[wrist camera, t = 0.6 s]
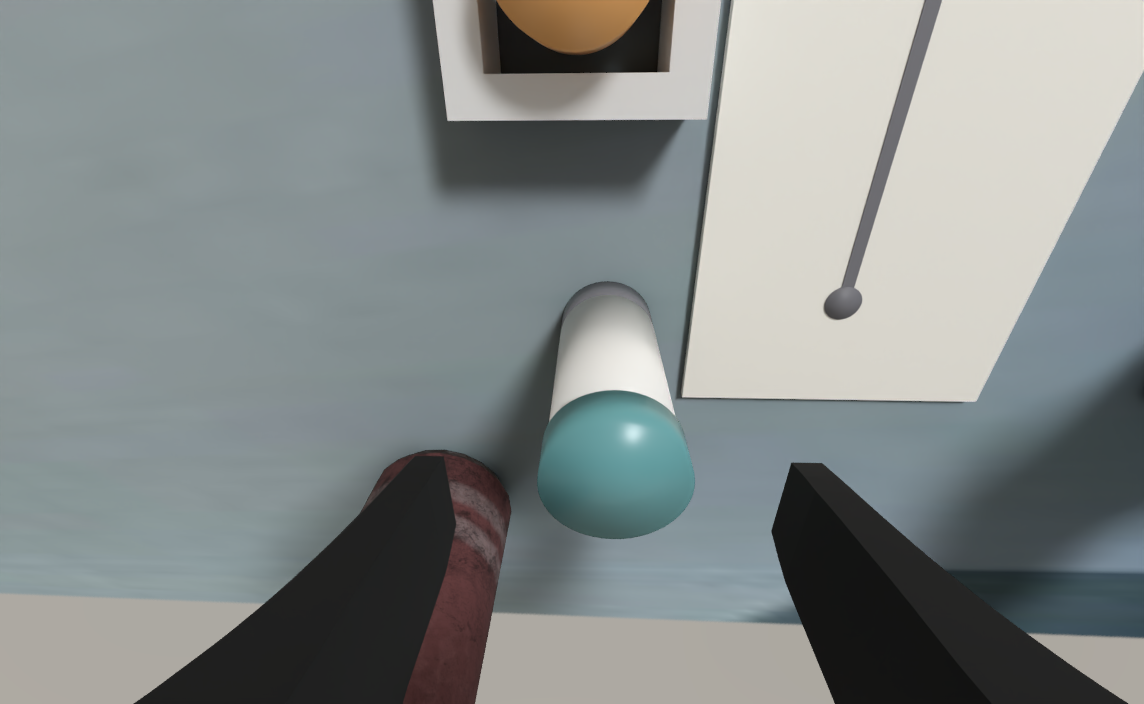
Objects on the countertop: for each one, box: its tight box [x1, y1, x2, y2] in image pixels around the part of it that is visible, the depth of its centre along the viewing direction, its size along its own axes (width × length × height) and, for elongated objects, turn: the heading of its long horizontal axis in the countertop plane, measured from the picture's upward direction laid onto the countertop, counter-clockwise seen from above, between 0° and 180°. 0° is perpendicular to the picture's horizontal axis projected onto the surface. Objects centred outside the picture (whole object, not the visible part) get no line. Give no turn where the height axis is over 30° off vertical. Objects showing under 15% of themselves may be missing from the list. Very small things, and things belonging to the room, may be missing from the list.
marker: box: [537, 281, 695, 539], centre depth 14 cm, size 3×3×8 cm
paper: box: [681, 0, 1144, 402], centre depth 14 cm, size 11×18×1 cm, turn 0°
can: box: [361, 450, 511, 704], centre depth 16 cm, size 6×6×14 cm
